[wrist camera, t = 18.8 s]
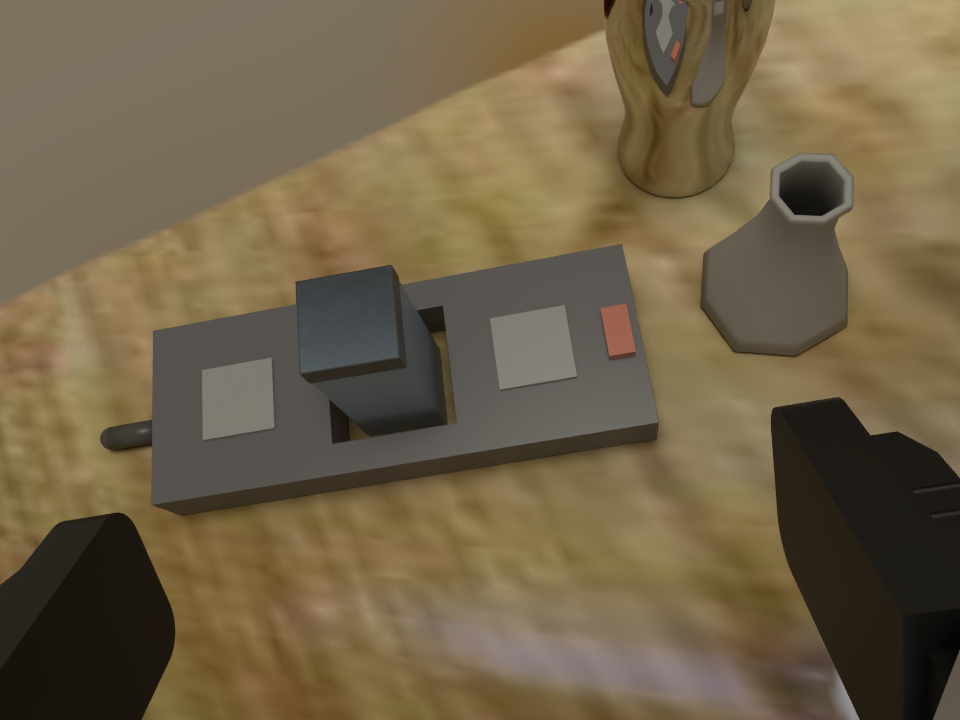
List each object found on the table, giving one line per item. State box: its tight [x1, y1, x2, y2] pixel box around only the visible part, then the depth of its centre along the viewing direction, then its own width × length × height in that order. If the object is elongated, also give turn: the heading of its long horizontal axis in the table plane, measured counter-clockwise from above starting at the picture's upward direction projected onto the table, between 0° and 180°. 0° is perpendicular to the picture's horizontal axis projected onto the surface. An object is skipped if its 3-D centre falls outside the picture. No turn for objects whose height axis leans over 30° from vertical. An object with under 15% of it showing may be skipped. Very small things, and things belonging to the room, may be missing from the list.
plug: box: [296, 265, 448, 436], centre depth 40 cm, size 4×4×10 cm
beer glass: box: [604, 0, 776, 198], centre depth 40 cm, size 7×7×15 cm
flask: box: [701, 153, 853, 356], centre depth 39 cm, size 7×7×10 cm
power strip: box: [100, 244, 659, 515], centre depth 43 cm, size 28×9×4 cm, turn 97°
